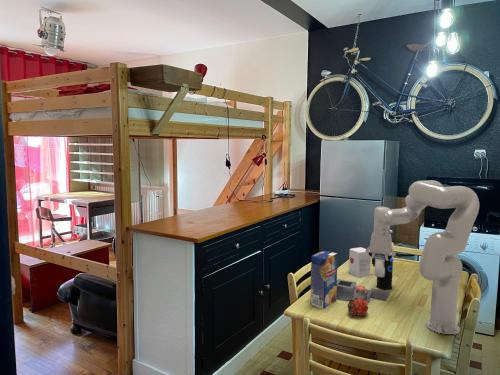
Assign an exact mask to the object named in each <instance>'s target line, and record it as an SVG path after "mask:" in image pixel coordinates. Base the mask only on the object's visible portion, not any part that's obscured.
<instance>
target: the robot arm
mask: <svg viewBox="0 0 500 375" xmlns="http://www.w3.org/2000/svg"><path fill="white" fill-rule="evenodd" d="M404 200H405V205H406V206H404V207H402V208H390V207H388V206H377V207H375V208H374V214H373V215H374V216H373V217H374V219H373V232H371V237H370V243H369V244H370V245H369V246H368V247H367V248H365V249H366V250H365V251H366V252H367V253H368V254H369V255H370V257H371V265H372V267H375V257H376V254H377V255H385V258H386V259H385V266H384V268H386V267H387V266H388V260H389V259H391V258H392V259H393V258H394V257H395V256H396V255H397V253H396V252H395V250H394V249H393V247H392V246H393V245H392V244H393V241H392V234H393V229H392V230H391V229H390V228H391V226H397V225H404V224H408V223H411V222H412V221H414V220H415V219H417V218H418V217H419V216H420V215H421V213H422V210H424V209H426V208H427V207H431V208H435V209H444V210H445V209H455V210H454V211H453V212H452V214H451V215H450V217H449V218H448V221H447V225H446V227H445V229H444V230H443V231H437V232H433V233H432V234H430V235H429V236H428V237H427V238H426V240H425V243H424V246H423V250H422V253H421V256H420V260H419V266H418V269H419V273H420V275H421V276H422V278H424V279H425V280H427V281H432V288H431V302H430V316H429V317H430V318H428V319H427V320H426V321H425V326H426V327H427V328H428V329H429V330H430V331H432V332H434V331H435V332H434V333H437V332H438V333H437V334H440V333H443V334H442V335H444V334H454V335H458V334H459V333H460V329H461V328H460V327H459V325H458V324H456V323H457V311H458V310H457V309H458V298H459V287H460V286H459V285H460V280H461V276H462V273H463V263H462V260H461V259H460V257H458V256H457V255H460V254H462V253H463V252H464V251H465V250H466V247H467V245H468V242H469V239H470V236H471V233H472V230H473V227H474V223H475V221H476V219H477V216H478V214H479V210H480V201H479V197H478V195H477V193H476V192H475V191H474V190H473V189H472V188H470V187H467V186H463V185H453V186H452V185H451V186H444V185H443V184H442V183H441V182H440V181H437V180H434V179H433V180H432V179H431V180H428V179H427V180H417V181H414V182H413V183H412V184H411V185H410V186H409V188H408V194H407V195H406V197H405V199H404ZM369 250H370V251H369ZM388 255H389V256H388ZM454 335H453V336H454Z"/></svg>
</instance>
